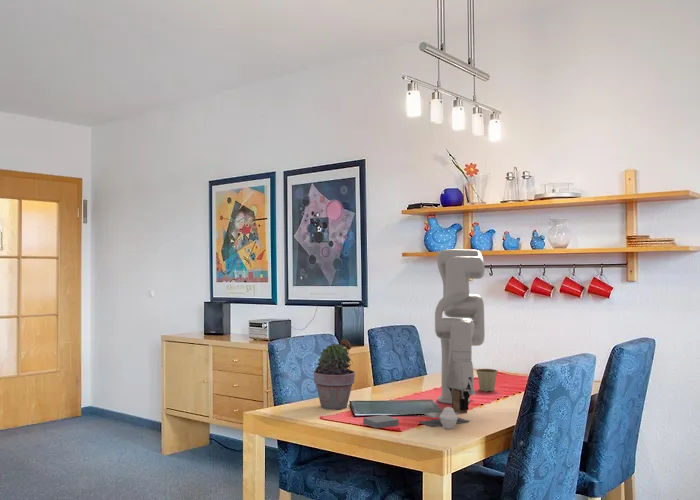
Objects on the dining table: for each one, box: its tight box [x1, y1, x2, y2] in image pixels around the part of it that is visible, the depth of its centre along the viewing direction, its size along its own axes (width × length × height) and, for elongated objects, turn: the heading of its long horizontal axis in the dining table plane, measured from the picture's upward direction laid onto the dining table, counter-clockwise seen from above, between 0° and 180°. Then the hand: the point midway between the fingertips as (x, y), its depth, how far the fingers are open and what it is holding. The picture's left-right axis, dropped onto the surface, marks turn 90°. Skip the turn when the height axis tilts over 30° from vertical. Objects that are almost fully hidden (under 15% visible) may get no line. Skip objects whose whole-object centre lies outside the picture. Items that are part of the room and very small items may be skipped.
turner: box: [423, 389, 468, 419], centre depth 236 cm, size 16×4×8 cm, turn 121°
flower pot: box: [475, 368, 499, 392], centre depth 297 cm, size 9×9×9 cm
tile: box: [362, 414, 400, 429], centre depth 232 cm, size 2×8×9 cm
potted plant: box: [313, 339, 356, 411], centre depth 258 cm, size 18×20×25 cm
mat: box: [418, 417, 470, 428], centre depth 236 cm, size 16×7×1 cm, turn 121°
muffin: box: [438, 406, 459, 430], centre depth 228 cm, size 6×6×7 cm
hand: (460, 408), depth 239 cm, fingers closed on turner, 3 cm apart
